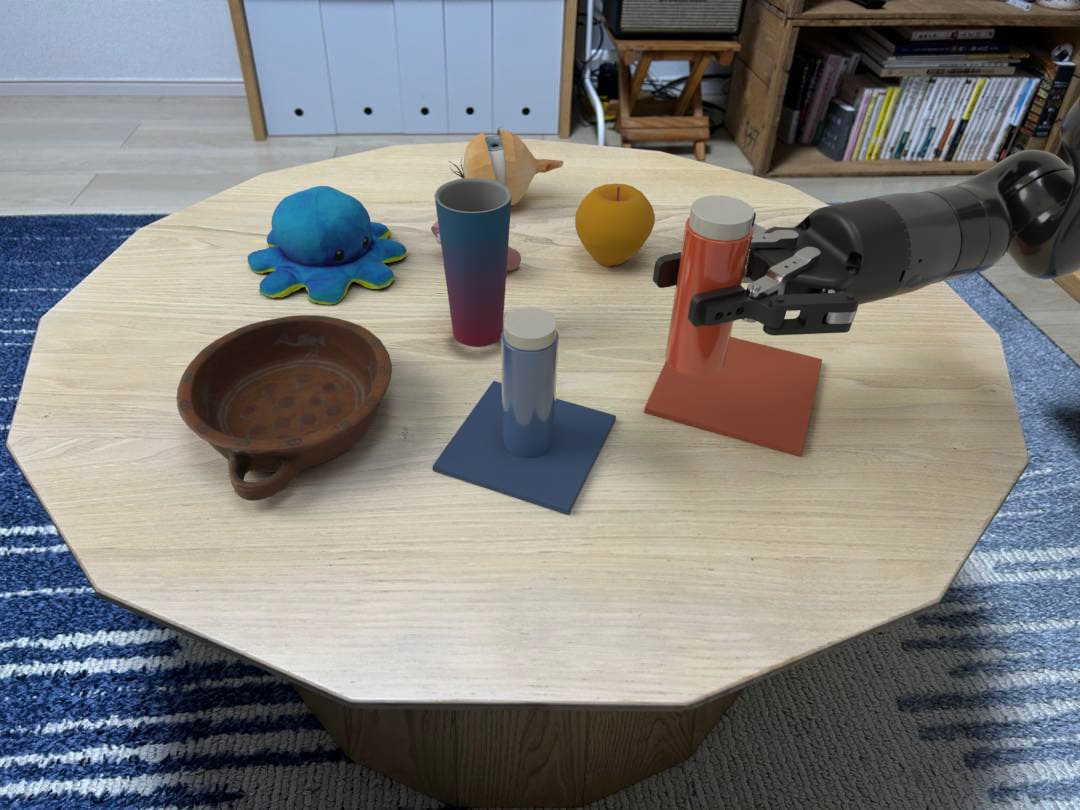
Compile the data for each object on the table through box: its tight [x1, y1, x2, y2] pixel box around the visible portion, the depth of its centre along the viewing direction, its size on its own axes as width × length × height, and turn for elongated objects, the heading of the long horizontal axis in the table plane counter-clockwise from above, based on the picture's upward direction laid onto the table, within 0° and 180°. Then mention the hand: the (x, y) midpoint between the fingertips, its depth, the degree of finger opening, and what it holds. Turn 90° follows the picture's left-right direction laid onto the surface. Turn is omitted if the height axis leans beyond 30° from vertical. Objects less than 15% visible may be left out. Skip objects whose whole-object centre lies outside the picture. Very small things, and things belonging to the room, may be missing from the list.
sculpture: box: [448, 125, 565, 207], centre depth 96 cm, size 9×9×15 cm
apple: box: [574, 183, 656, 267], centre depth 86 cm, size 9×9×9 cm
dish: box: [176, 314, 393, 502], centre depth 66 cm, size 17×22×5 cm
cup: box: [434, 178, 512, 347], centre depth 73 cm, size 7×7×15 cm
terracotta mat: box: [643, 336, 823, 457], centre depth 72 cm, size 14×14×1 cm
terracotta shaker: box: [665, 194, 755, 377], centre depth 53 cm, size 4×4×12 cm
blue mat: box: [432, 380, 617, 515], centre depth 66 cm, size 12×12×1 cm
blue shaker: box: [500, 307, 560, 458], centre depth 61 cm, size 4×4×12 cm
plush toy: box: [247, 185, 408, 306], centre depth 84 cm, size 17×17×8 cm
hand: (674, 292), depth 52 cm, fingers closed on terracotta shaker, 4 cm apart
